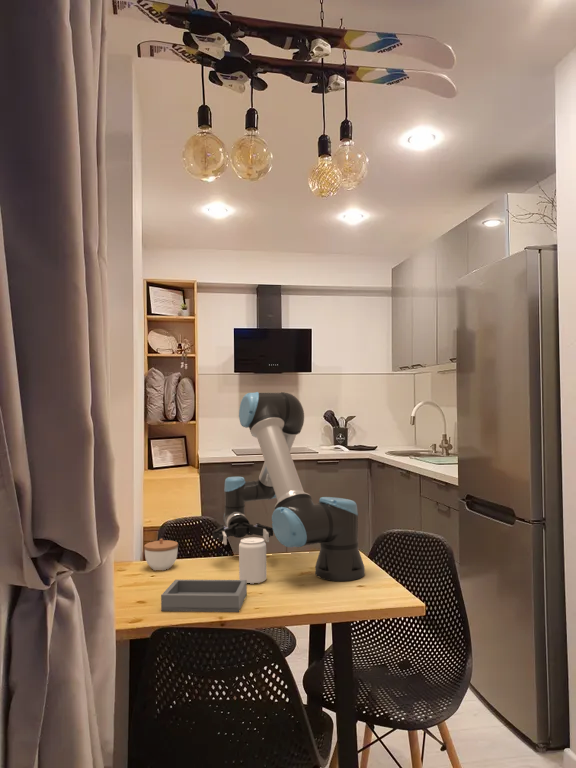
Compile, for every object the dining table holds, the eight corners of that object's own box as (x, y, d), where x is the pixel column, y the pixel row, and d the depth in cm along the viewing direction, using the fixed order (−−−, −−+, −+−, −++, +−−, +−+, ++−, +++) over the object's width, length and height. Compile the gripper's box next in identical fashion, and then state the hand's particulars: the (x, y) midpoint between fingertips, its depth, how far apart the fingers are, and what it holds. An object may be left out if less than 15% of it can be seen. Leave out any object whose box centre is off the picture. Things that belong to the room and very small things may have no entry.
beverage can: (260, 586, 158) (259, 544, 159) (234, 583, 161) (234, 542, 162) (270, 578, 166) (270, 537, 167) (246, 575, 169) (245, 536, 169)
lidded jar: (185, 566, 181) (184, 537, 181) (161, 574, 172) (161, 544, 172) (161, 561, 186) (161, 534, 187) (137, 569, 177) (137, 540, 178)
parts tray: (246, 594, 151) (246, 579, 151) (238, 611, 138) (238, 595, 138) (175, 594, 153) (175, 579, 153) (161, 611, 140) (161, 595, 140)
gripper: (272, 533, 198) (285, 548, 177) (202, 537, 193) (207, 553, 172) (272, 512, 198) (284, 524, 178) (202, 516, 193) (207, 529, 172)
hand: (246, 539), depth 175 cm, fingers open, 13 cm apart
